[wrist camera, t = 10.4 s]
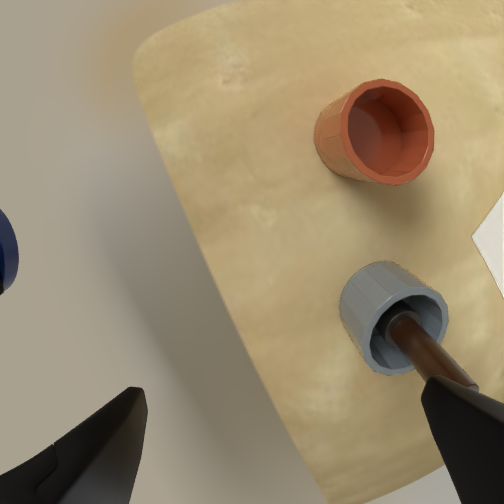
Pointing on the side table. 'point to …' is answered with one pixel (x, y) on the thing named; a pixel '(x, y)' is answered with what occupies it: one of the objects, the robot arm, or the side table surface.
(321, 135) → the holder
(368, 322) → the cup
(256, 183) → the side table surface
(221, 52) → the side table surface
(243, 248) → the side table surface
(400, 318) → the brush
